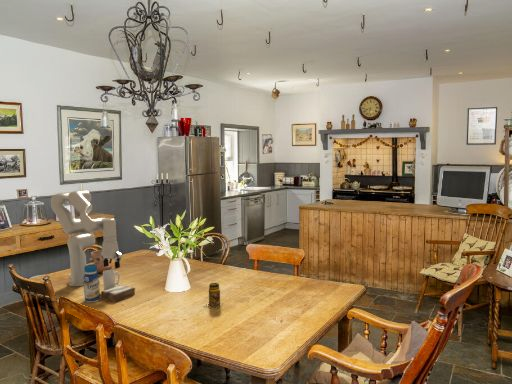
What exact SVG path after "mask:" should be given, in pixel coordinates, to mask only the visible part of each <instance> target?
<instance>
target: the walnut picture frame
mask: <svg viewBox="0 0 512 384" xmlns="http://www.w3.org/2000/svg"><path fill="white" fill-rule="evenodd" d="M100 293H101V294H100V299H103V300H107V301H111V302H115V303H116V302H119V301H122V300H124V299H127V298H129V297H132V296H134V295H135V294H136V293H135V287H132V286H127V285H123V284H118V285H115V287H113V288H110V289H107V290H104V289H103V290H101V291H100Z"/></svg>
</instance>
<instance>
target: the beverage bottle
mask: <svg viewBox="0 0 512 384" xmlns="http://www.w3.org/2000/svg"><path fill="white" fill-rule="evenodd" d="M84 270H85V275H84V285H83V290H84V291H83V293H84V301H85V303H96V302H98V301H100V300H101V294H100V293H101V291H100V282H101V281H100V276H99V273H97V272H96V271H97V265H95V264H94V263H92V264H87V265H86V266H85V267H84Z"/></svg>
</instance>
